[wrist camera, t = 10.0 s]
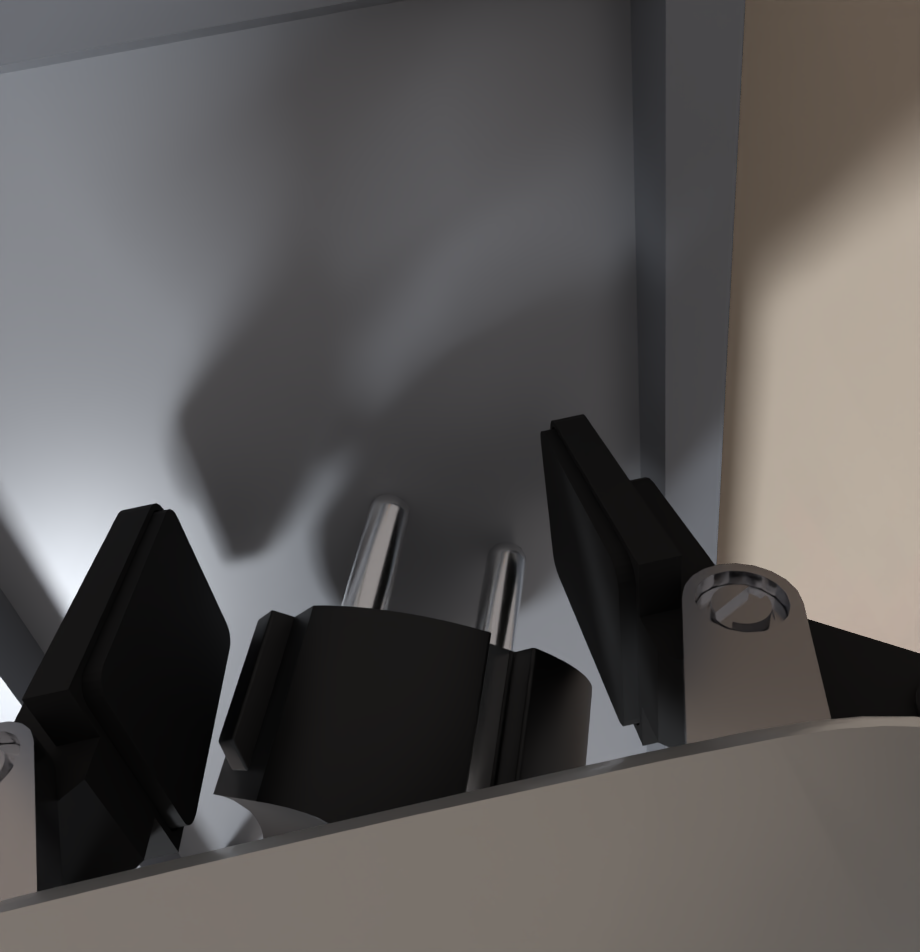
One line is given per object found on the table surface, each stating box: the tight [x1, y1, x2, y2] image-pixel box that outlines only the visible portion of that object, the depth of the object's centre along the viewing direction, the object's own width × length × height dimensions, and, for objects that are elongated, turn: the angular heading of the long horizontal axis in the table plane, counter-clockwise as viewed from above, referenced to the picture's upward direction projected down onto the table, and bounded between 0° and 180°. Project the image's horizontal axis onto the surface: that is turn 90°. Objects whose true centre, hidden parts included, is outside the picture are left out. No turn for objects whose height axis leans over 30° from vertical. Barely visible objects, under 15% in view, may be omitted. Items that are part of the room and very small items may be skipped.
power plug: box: [213, 494, 592, 839], centre depth 14 cm, size 6×8×12 cm
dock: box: [0, 0, 745, 868], centre depth 13 cm, size 19×14×2 cm
